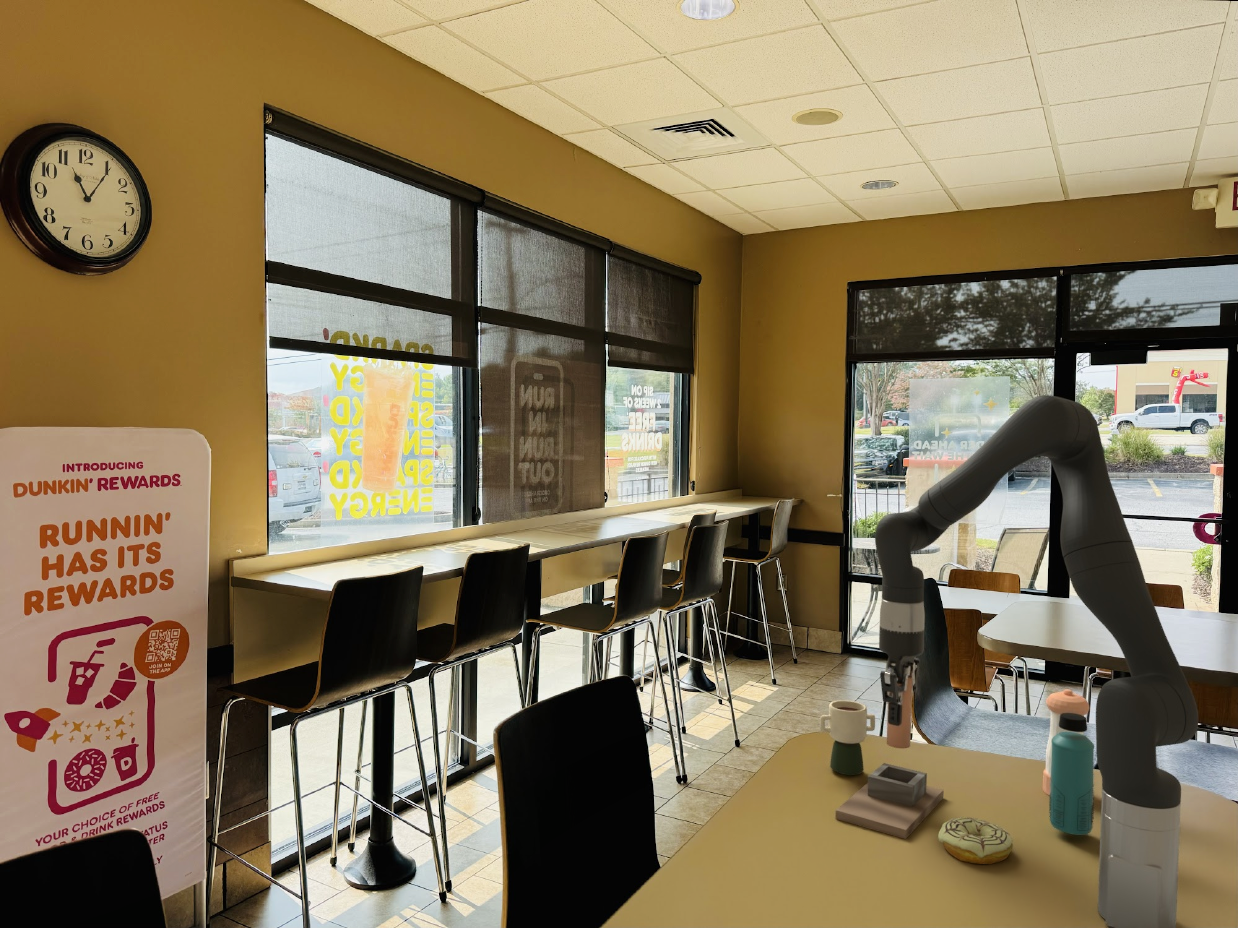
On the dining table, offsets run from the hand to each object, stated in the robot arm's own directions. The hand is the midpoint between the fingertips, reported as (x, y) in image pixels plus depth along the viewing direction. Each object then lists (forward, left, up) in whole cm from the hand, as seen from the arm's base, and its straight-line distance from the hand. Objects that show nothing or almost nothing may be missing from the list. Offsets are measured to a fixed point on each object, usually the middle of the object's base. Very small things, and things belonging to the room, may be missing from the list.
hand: (899, 720), depth 158 cm
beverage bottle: (+5, -27, -15) cm, 31 cm away
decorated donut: (-10, -16, -15) cm, 24 cm away
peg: (0, 0, -4) cm, 4 cm away
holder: (-3, 0, -15) cm, 15 cm away
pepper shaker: (+23, -23, -15) cm, 36 cm away
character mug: (+8, +13, -15) cm, 21 cm away
